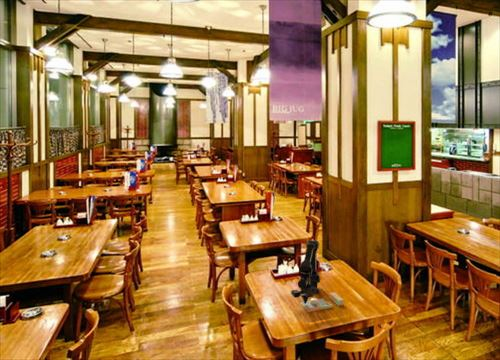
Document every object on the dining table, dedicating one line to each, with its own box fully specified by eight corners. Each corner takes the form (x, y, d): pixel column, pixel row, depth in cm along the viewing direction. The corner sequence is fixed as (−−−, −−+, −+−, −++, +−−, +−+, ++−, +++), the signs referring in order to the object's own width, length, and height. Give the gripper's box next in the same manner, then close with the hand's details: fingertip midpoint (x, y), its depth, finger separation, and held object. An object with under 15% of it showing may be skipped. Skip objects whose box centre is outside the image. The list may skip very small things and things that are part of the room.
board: (299, 303, 247) (299, 300, 246) (322, 299, 252) (322, 296, 252) (308, 313, 235) (308, 309, 234) (332, 308, 240) (332, 304, 240)
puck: (309, 302, 247) (309, 298, 247) (315, 300, 249) (315, 297, 248) (312, 305, 243) (312, 302, 242) (319, 304, 244) (319, 300, 244)
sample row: (328, 299, 253) (329, 293, 252) (334, 298, 254) (335, 292, 254) (337, 307, 242) (337, 300, 241) (343, 305, 244) (344, 299, 243)
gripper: (298, 289, 231) (297, 311, 233) (323, 285, 236) (323, 307, 239) (290, 282, 241) (290, 303, 244) (315, 278, 247) (315, 299, 249)
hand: (305, 303), depth 244 cm, fingers closed
